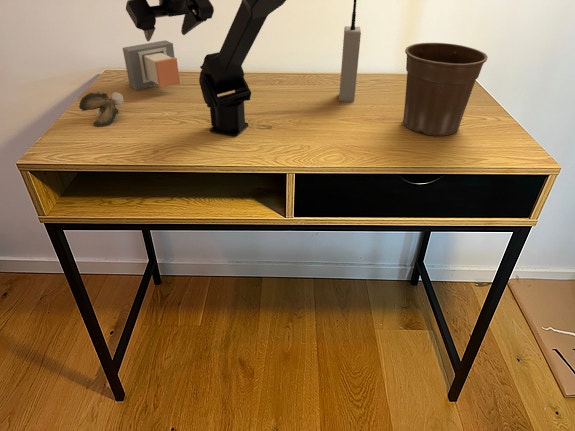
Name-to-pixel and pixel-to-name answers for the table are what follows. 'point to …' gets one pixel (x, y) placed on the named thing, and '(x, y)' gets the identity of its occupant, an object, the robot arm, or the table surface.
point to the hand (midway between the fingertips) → (165, 36)
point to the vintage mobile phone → (350, 60)
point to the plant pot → (439, 85)
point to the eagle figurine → (102, 106)
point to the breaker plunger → (161, 69)
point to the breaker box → (136, 62)
